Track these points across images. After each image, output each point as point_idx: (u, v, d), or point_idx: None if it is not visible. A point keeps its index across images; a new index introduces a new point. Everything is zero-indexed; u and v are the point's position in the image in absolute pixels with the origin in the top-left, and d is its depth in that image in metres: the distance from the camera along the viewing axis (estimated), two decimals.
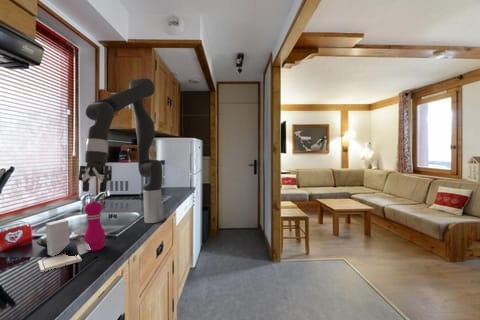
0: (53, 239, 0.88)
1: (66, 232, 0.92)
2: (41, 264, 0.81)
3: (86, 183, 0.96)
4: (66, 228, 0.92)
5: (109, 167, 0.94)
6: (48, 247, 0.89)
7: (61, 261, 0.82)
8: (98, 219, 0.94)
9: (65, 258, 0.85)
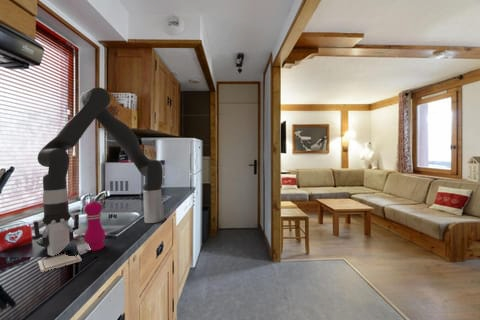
0: (53, 239, 0.88)
1: (66, 232, 0.92)
2: (41, 264, 0.81)
3: None
4: (66, 228, 0.92)
5: None
6: (48, 247, 0.89)
7: (61, 261, 0.82)
8: (98, 219, 0.94)
9: (65, 258, 0.85)
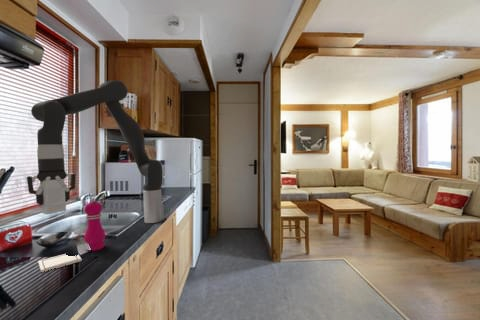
0: (48, 196, 0.84)
1: (62, 191, 0.87)
2: (41, 264, 0.81)
3: None
4: None
5: None
6: (42, 205, 0.85)
7: (61, 261, 0.82)
8: (98, 219, 0.94)
9: (65, 258, 0.85)
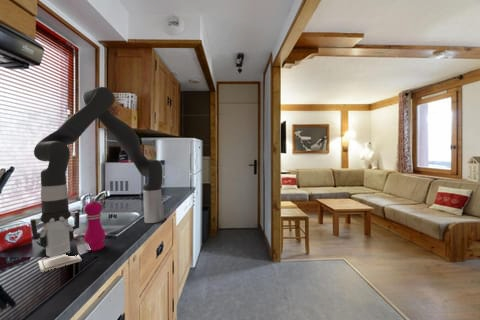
0: (52, 239, 0.82)
1: (66, 231, 0.86)
2: (41, 264, 0.81)
3: None
4: (66, 227, 0.86)
5: None
6: (46, 247, 0.83)
7: (61, 261, 0.82)
8: (98, 219, 0.94)
9: (65, 258, 0.85)
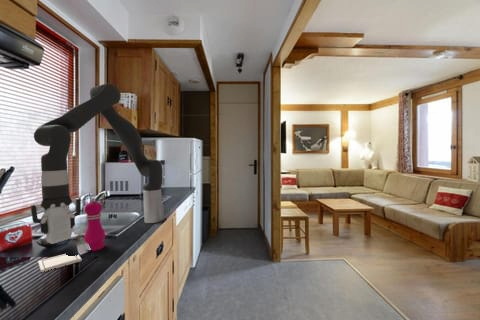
0: (53, 225, 0.80)
1: (67, 218, 0.84)
2: (41, 264, 0.81)
3: (45, 224, 0.81)
4: (67, 213, 0.84)
5: None
6: (47, 234, 0.81)
7: (61, 261, 0.82)
8: (98, 219, 0.94)
9: (65, 258, 0.85)
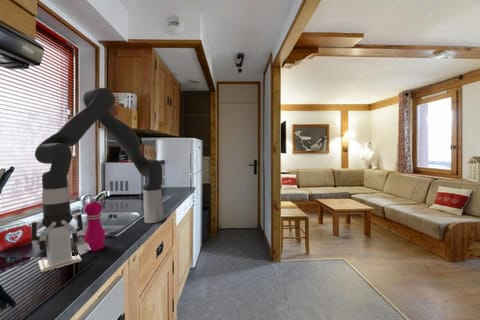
0: (53, 246, 0.80)
1: (67, 238, 0.84)
2: (41, 264, 0.81)
3: (44, 241, 0.80)
4: (67, 233, 0.84)
5: (80, 215, 0.88)
6: (48, 254, 0.81)
7: (61, 261, 0.82)
8: (98, 219, 0.94)
9: None
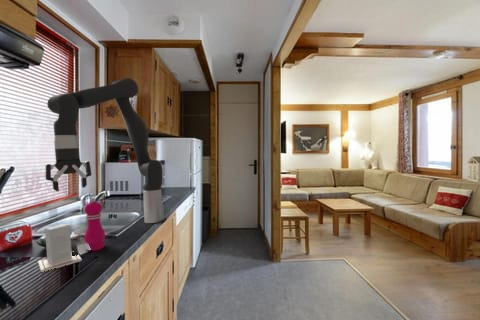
0: (53, 246, 0.80)
1: (67, 238, 0.84)
2: (41, 264, 0.81)
3: None
4: (67, 233, 0.84)
5: None
6: (48, 254, 0.81)
7: (61, 261, 0.82)
8: (98, 219, 0.94)
9: None
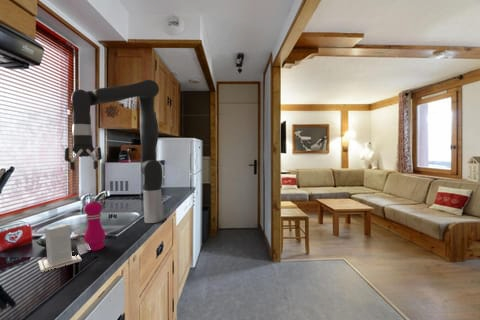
0: (53, 246, 0.80)
1: (67, 238, 0.84)
2: (41, 264, 0.81)
3: None
4: (67, 233, 0.84)
5: None
6: (48, 254, 0.81)
7: (61, 261, 0.82)
8: (98, 219, 0.94)
9: None
